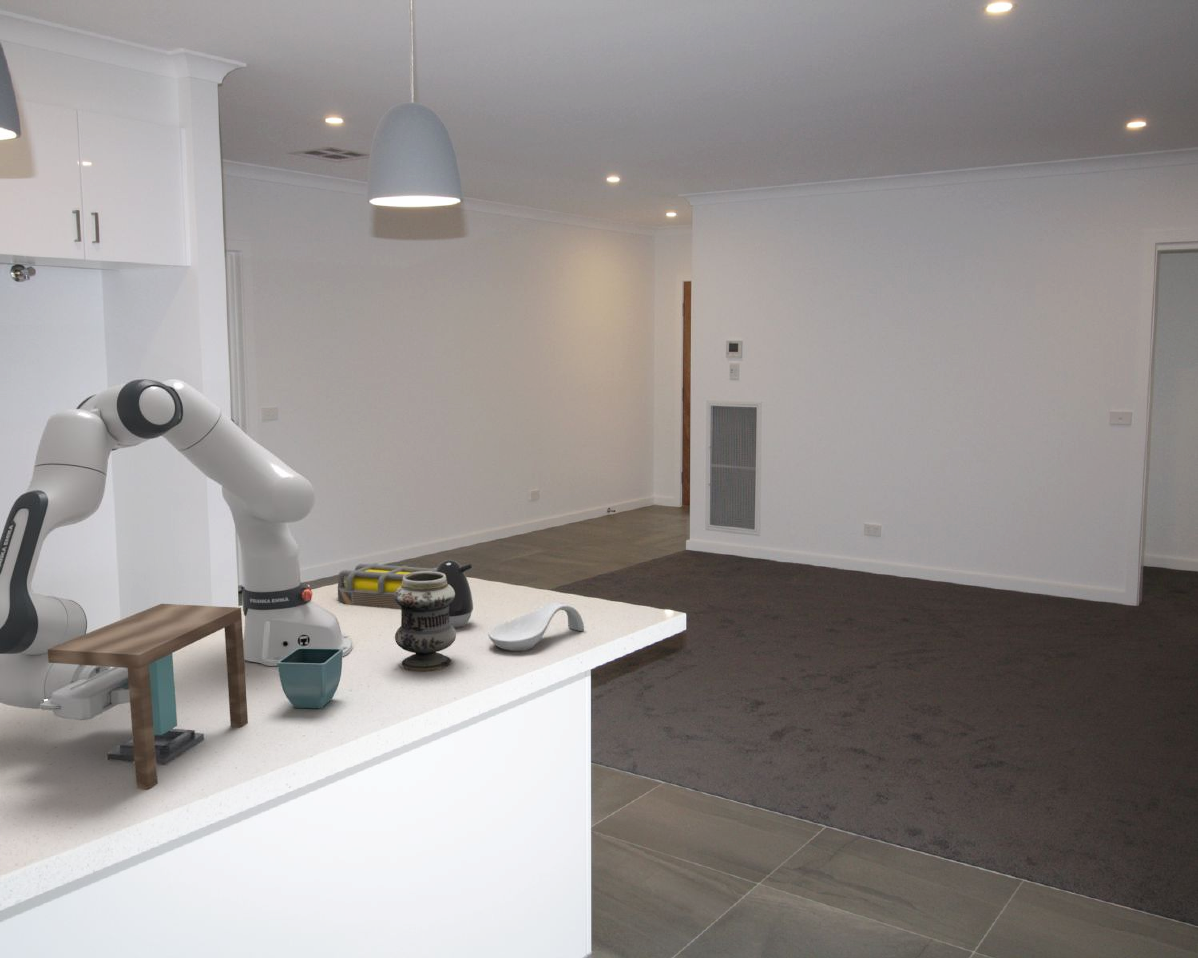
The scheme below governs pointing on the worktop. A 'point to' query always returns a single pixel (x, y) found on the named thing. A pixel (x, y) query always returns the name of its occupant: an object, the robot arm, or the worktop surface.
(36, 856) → the worktop surface
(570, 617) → the spoon rest
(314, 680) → the flower pot
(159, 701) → the teal box
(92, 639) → the overhang shelf
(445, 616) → the apothecary jar
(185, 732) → the seat cradle
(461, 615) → the black rounded upright piece
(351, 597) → the cage light
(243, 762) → the worktop surface
